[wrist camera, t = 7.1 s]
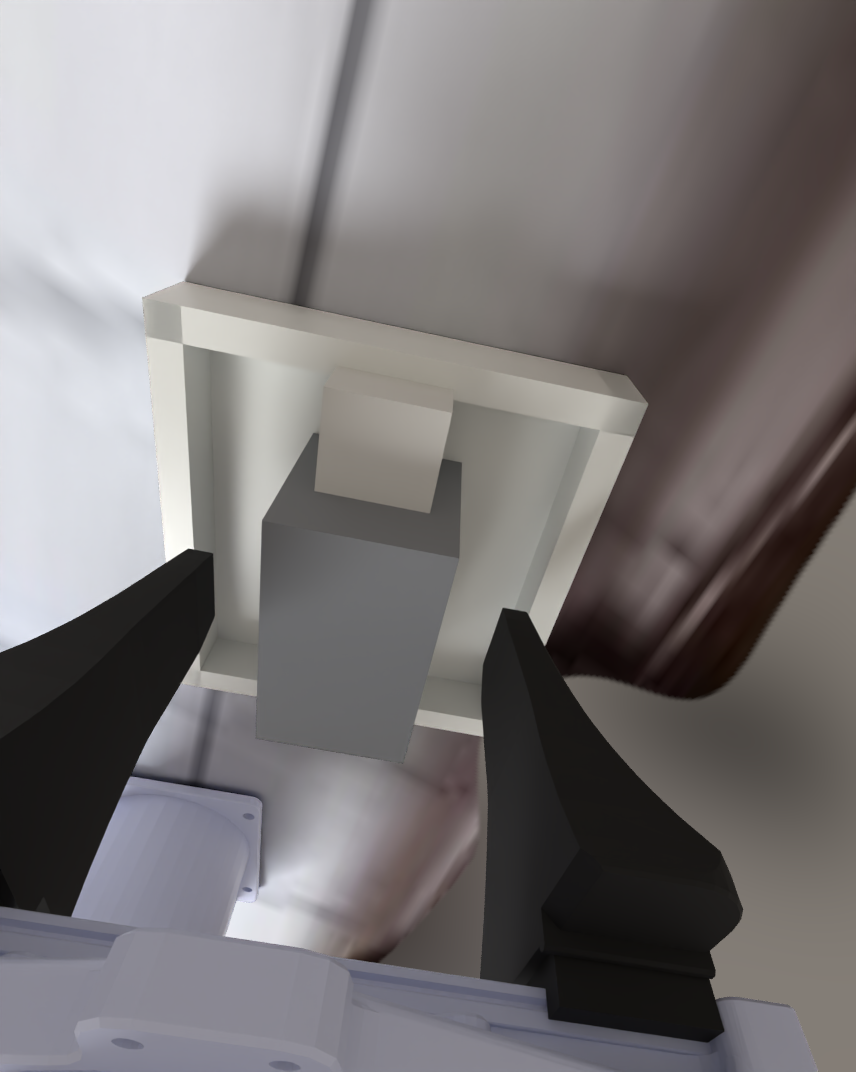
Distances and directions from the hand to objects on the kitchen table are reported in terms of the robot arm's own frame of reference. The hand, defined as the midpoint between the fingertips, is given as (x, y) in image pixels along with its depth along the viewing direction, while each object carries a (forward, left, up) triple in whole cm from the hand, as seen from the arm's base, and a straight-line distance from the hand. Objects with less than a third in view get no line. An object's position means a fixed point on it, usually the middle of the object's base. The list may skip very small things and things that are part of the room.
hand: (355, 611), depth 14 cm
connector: (+1, 0, -3) cm, 3 cm away
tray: (0, 0, -4) cm, 4 cm away
